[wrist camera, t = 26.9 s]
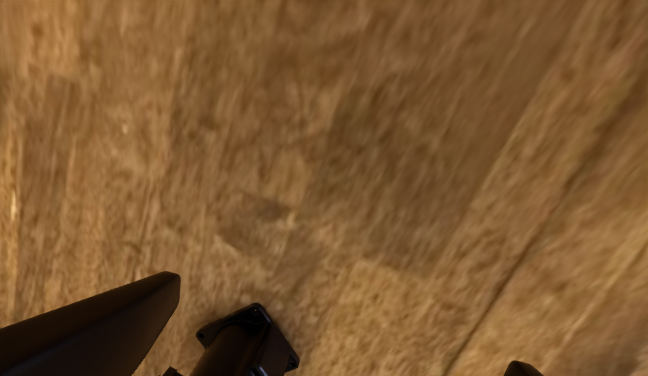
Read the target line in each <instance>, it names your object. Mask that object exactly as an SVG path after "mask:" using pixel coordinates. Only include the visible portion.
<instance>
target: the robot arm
mask: <svg viewBox="0 0 648 376" xmlns="http://www.w3.org/2000/svg"><path fill="white" fill-rule="evenodd" d="M180 282H181V278H180V276H179V275H178V274H176V273H172V272H168V271H164V272H161V273H158V274H155V275H152V276H149V277H146V278H144V279H141V280H138V281H135V282H132V283H129V284H127V285H124V286H121V287H118V288H115V289H112V290H109V291H107V292H104V293H101V294H98V295H95V296H92V297H89V298H87V299H84V300H81V301H78V302H75V303H72V304H69V305H67V306H64V307H61V308H58V309H55V310H52V311H49V312H47V313H44V314H41V315H38V316H35V317H32V318H29V319H27V320H24V321H21V322H18V323H15V324H12V325H9V326H7V327H4V328H1V329H0V376H131V375H132V374H133V373H134V372H135V370H136V369H137V368H138V366H139V365H140V364H141V362H142V361H143V359H144V358H145V356H146V355H147V353H148V352H149V350H150V349H151V347H152V346H153V344H154V342H155V341H156V339H157V338H158V336H159V335H160V333H161V331H162V330H163V328H164V327H165V325H166V324H167V322H168V320H169V319H170V317H171V316H172V314H173V312H174V311H175V309H176V308H177V305H178V303H179V298H180ZM254 309H256V310H258V311H255V310H254ZM203 334H204V335H203ZM196 337H197V338H198V340H199V341H200V342H201V344H202V345H203V346H204V347H205V349H206V350H205V352H204V353H203V355H202V356H201V358H200V360H199V361H198V363H197V364H196V366H195V368H194V369H193V371H192V372H191V374H190V376H284V374H285V373H286V372H288V371H291V370H294V369H296V368H298V366H299V362H300V360H299V358H298V356H297V355H296V353H295V352H294V351H293V349H292V347H291V346H290V344H289V343H288V341H287V340H286V339H285V337H284V336H283V334H282V333H281V332H280V330H279V329H278V327H277V326H276V325H275V324H274V322H273V321H272V319H271V318H270V317H269V315H268V314H267V312H266V311H265V310H264V308H263V307H262V306H261V305H260V304H258V303H254V304H252V305H249V306H247V307H245V308H243V309H241V310H239V311H236V312H234V313H232V314H230V315H228V316H226V317H223V318H221V319H219V320H217V321H215V322H213V323H210V324H208V325H206V326H204V327H202V328H200V329H199V330H198V332H197V333H196ZM159 376H160V375H159ZM163 376H183V375H181V374H180V373H178V372H177V370H176V369H174V368H173V367H171V366H170V367H169V368H168V369H167V371H166V372H165V373H164V374H163ZM504 376H544V375H542V374H541V373H540V372H539V371H538V370H537V369H535V368H534V367H533V366H532V365H530V364H527V363H524V362H520V361H512V362H510V364H509V366H508V368H507V370H506V372H505V374H504Z"/></svg>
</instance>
